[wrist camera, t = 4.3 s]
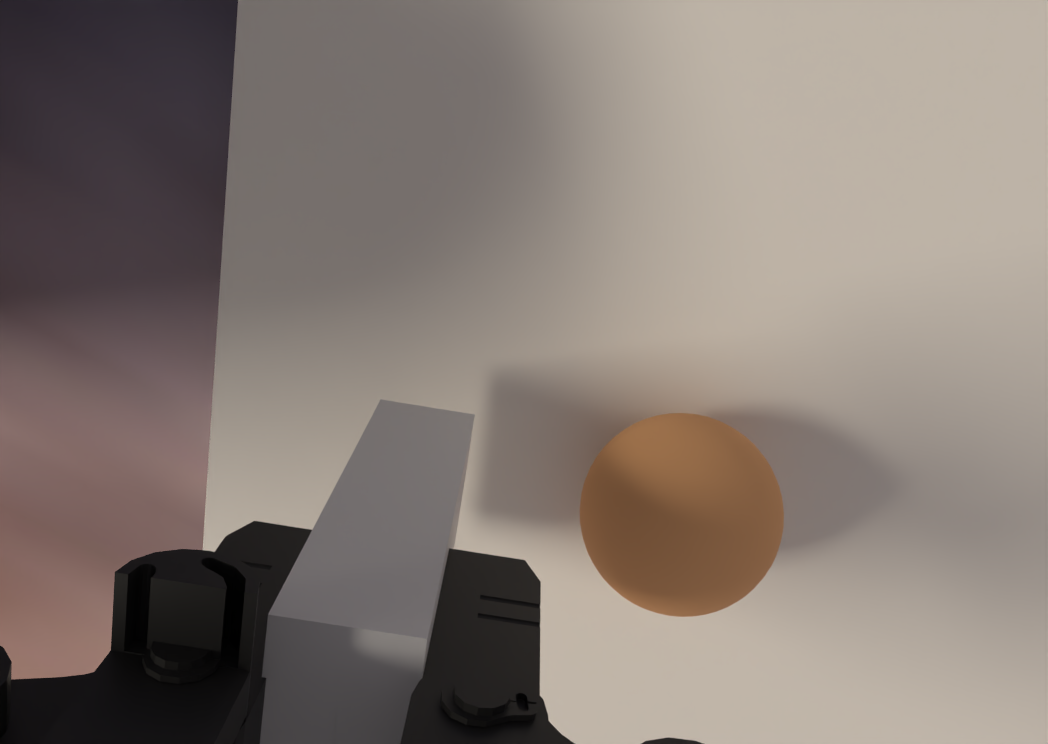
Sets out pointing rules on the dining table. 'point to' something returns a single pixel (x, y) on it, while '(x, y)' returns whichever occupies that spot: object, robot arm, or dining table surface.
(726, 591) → the ball
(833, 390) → the hole board
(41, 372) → the dining table surface
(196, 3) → the dining table surface
